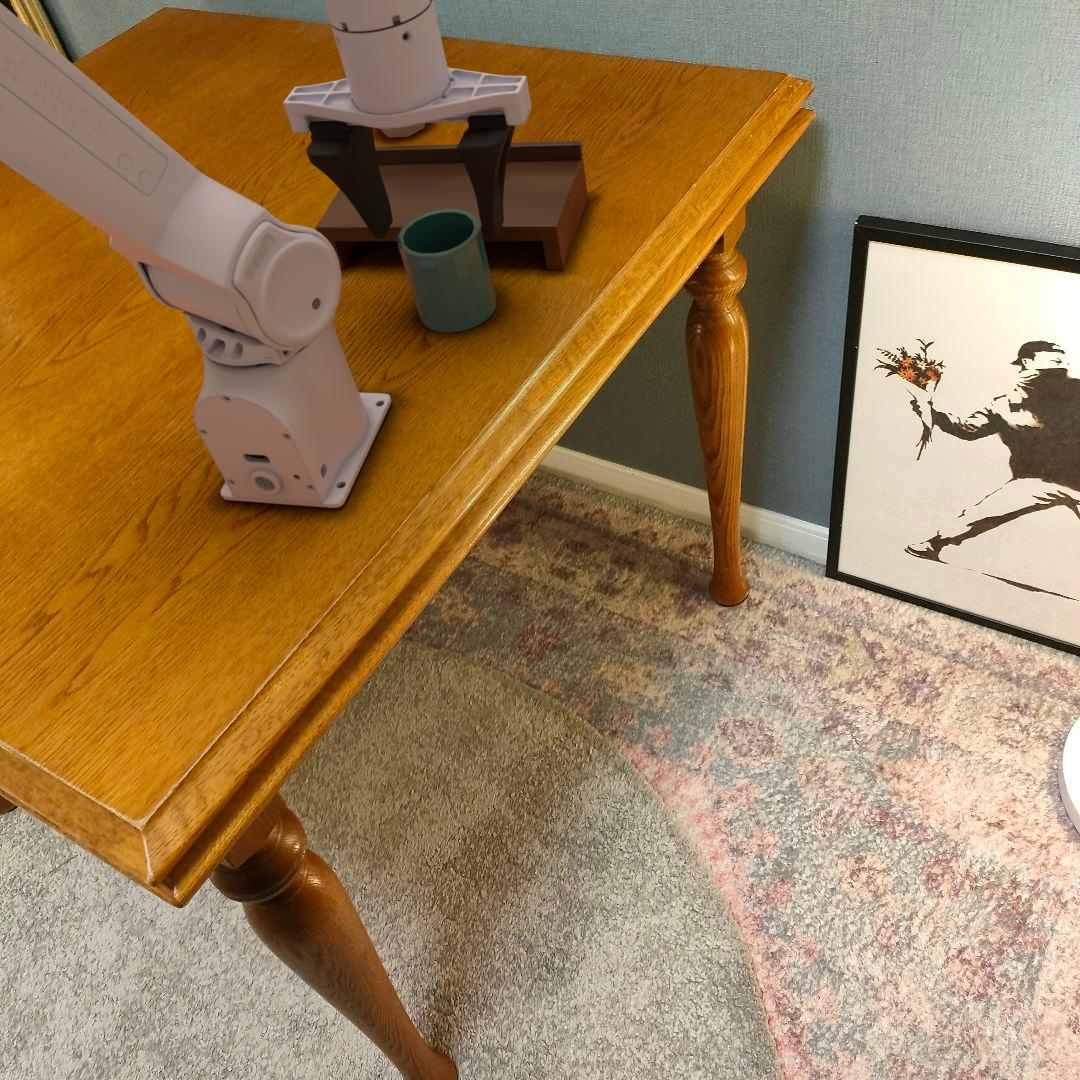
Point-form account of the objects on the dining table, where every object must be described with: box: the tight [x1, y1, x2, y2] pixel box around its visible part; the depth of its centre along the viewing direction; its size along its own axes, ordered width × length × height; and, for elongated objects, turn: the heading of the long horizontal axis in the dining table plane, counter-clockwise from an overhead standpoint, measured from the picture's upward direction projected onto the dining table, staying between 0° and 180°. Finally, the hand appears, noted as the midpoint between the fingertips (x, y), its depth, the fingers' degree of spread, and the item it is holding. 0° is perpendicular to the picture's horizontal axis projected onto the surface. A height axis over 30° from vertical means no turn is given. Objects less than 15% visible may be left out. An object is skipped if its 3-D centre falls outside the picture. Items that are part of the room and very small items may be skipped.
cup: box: [397, 209, 497, 334], centre depth 67 cm, size 5×5×6 cm
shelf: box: [315, 140, 589, 271], centre depth 73 cm, size 9×18×5 cm, turn 77°
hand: (438, 229), depth 64 cm, fingers open, 7 cm apart
